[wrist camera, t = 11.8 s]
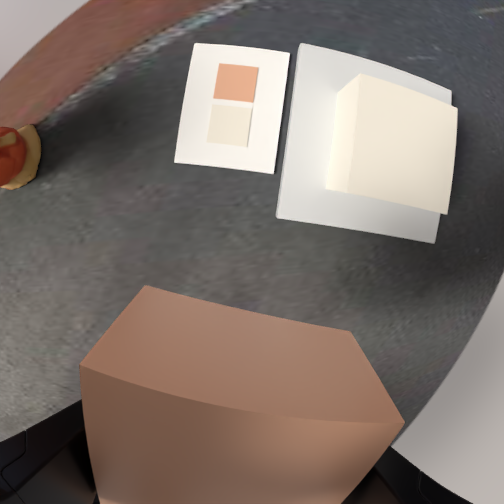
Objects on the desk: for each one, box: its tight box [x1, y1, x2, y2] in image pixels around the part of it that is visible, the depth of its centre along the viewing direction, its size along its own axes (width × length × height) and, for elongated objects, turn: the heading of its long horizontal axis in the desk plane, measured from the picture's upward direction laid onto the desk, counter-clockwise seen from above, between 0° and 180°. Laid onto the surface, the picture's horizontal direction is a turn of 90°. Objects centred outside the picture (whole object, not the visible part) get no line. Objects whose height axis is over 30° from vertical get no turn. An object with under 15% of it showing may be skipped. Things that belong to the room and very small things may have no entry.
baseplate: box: [276, 43, 451, 244], centre depth 18 cm, size 11×11×1 cm
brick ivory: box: [326, 73, 457, 215], centre depth 15 cm, size 6×6×4 cm
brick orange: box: [79, 285, 405, 504], centre depth 7 cm, size 6×6×4 cm
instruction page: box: [174, 43, 290, 174], centre depth 17 cm, size 8×6×1 cm
